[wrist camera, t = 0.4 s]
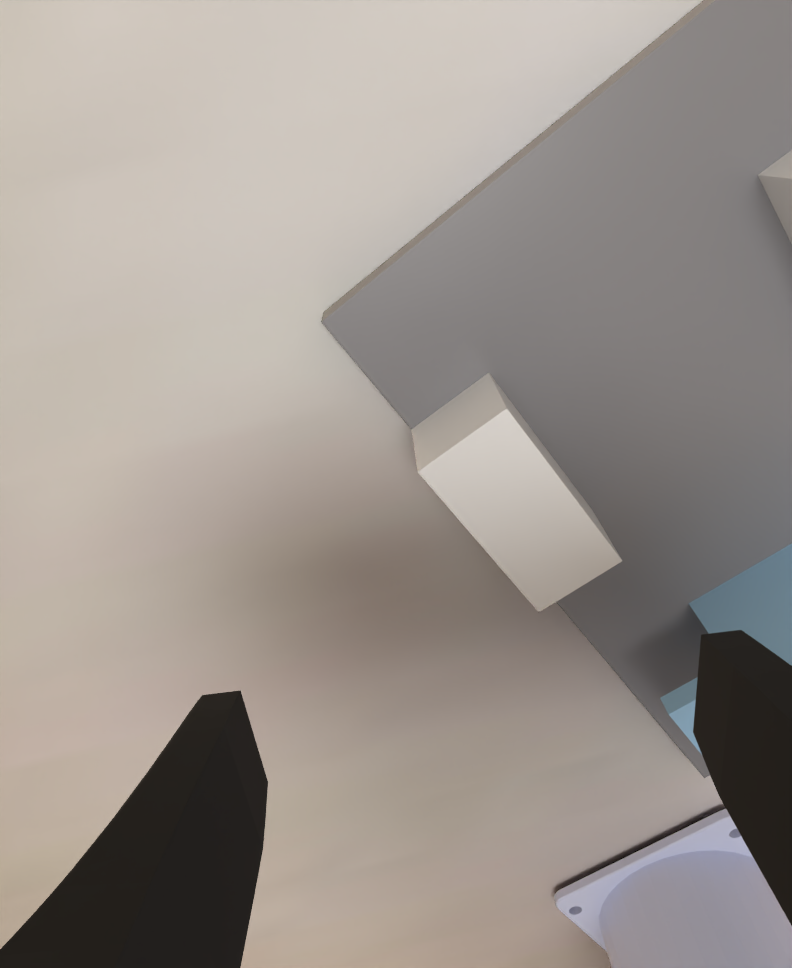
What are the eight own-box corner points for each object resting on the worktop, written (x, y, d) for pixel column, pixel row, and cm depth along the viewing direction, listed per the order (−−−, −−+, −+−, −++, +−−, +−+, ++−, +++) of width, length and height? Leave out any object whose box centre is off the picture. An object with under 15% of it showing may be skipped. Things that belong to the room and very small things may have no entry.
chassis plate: (1036, 576, 22) (1147, 649, 19) (692, 754, 25) (738, 844, 22) (768, -54, 14) (879, -105, 11) (323, 312, 17) (313, 351, 14)
